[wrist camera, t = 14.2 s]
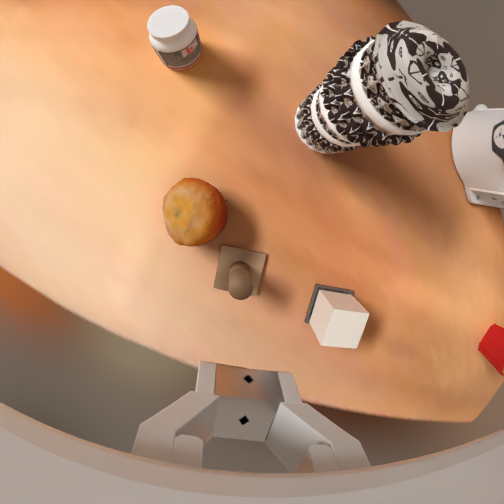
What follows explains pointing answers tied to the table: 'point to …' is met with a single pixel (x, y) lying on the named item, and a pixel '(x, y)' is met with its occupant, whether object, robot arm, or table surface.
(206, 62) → the table surface
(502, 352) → the french fries
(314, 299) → the grey square post stand
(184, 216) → the fruit
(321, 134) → the black white cylinder
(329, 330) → the white rectangular block
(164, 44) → the pill bottle
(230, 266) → the knob on square plate
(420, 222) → the table surface
